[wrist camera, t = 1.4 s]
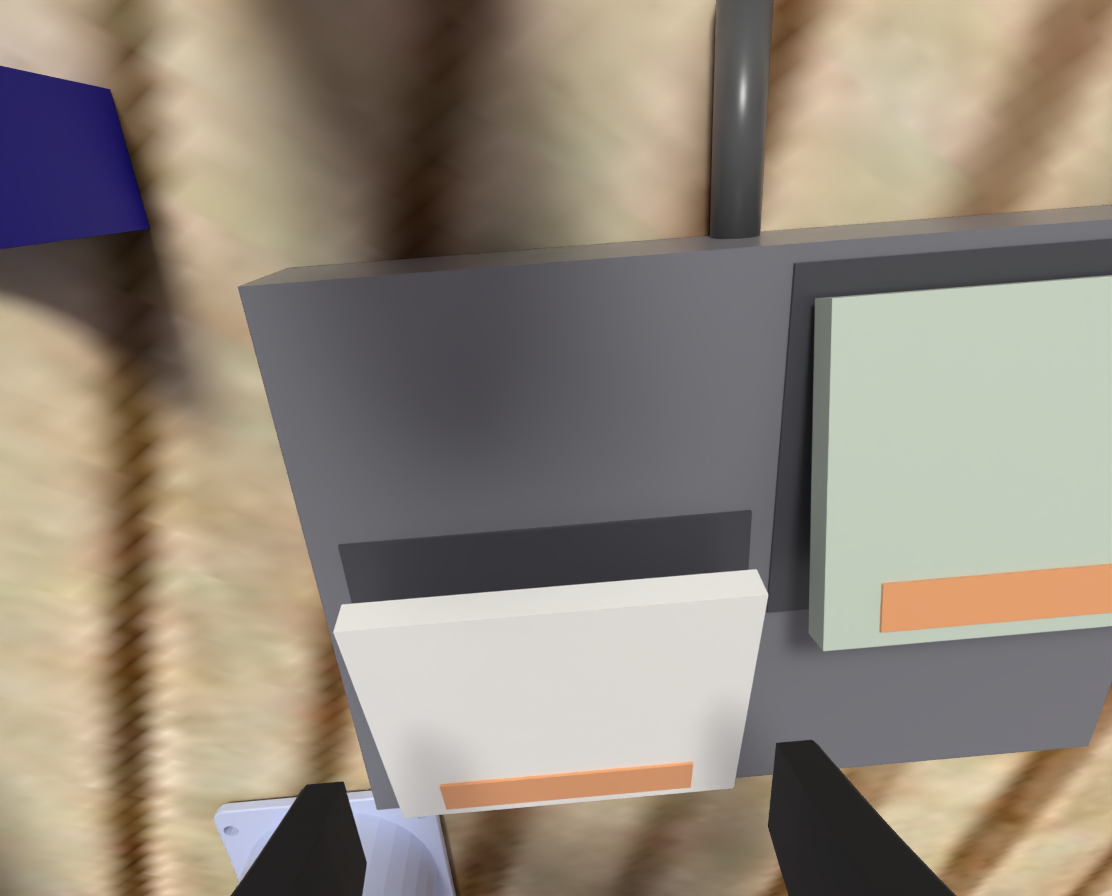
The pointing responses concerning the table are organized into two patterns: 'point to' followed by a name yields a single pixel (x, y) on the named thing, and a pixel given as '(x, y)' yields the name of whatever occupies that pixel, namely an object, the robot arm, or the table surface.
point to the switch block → (650, 436)
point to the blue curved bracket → (62, 162)
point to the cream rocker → (557, 690)
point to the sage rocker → (961, 463)
